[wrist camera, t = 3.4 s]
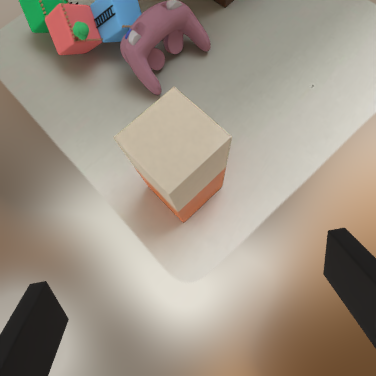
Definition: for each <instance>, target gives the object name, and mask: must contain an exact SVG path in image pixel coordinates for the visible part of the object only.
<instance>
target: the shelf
mask: <svg viewBox="0 0 376 376" xmlns="http://www.w3.org/2000/svg"><path fill="white" fill-rule="evenodd" d="M214 1H216V2H217V3H219V4H220V5H222V6H223V7H227V6H228V5H229V4H230V3H231V2H232V1H234V0H214Z"/></svg>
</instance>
